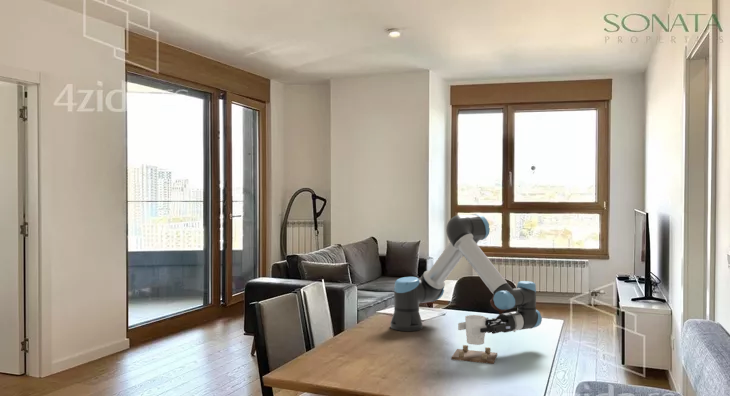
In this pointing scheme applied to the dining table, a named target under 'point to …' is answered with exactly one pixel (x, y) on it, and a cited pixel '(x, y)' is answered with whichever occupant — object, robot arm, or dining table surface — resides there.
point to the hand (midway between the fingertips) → (465, 328)
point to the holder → (474, 355)
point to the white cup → (474, 322)
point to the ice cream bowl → (495, 306)
